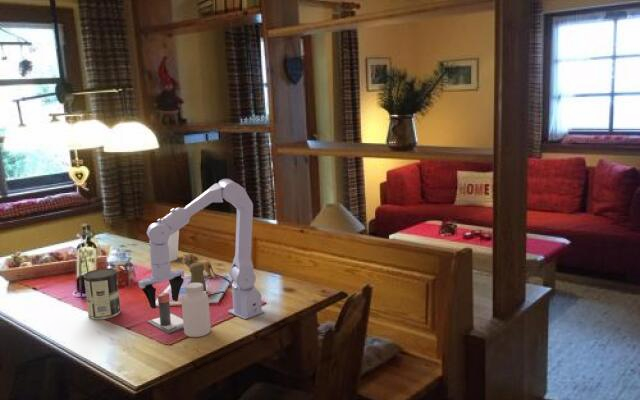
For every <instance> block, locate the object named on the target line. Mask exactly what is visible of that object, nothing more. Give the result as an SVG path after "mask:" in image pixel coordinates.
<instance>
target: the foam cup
mask: <svg viewBox="0 0 640 400" xmlns="http://www.w3.org/2000/svg"><path fill="white" fill-rule="evenodd" d="M179 236H180V229H179V230H178V231H176V232H175V233H173V234H172V235H170V236H169V239H168V246H169V254H170V262H173V261H176V260H178V255H179V254H178V253H179V252H178V251H179V239H180V238H179Z"/></svg>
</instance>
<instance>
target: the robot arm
mask: <svg viewBox="0 0 640 400" xmlns="http://www.w3.org/2000/svg"><path fill="white" fill-rule="evenodd" d="M223 199H224V200H225V201H226V202H228V203H230V204H231V205H232V206H234V208H235V209H236V222H235V223H236V225H235V226H236V227H235V251H234V253H235V254H234V258H233V259H232V266H231V267H230V269H229V276H230V278H231V279H232V281H233V282H232V284H231V291H232V293H231V295H232V296H231V297H232V308H230V309H228V310H227V312H228V313H230V314H232V315H235V316H237V317H239V318H241V319H244V320H247V319H249V318H252V317H255V316H257V315H259V314H263V313H265V310H263V307H262V304H263V303H262V294H261V292H260V291H259V290H258V289H257V288H256V287H255V283H256V274H255V273H254V264H253V260H252V243H253V242H252V239H253V217H254V216H253V215H254V204H253V201H252V199H250V197H249V195H248V193H247V191H246V188H244V187H243V186H241V185H240V184H239V183H238V182H235V181H234V180H232V179H230V178H222V179H220V180H219V181H218V183H217V182H216V183H214V184H213V185H211V186H210V187H209V188H208V189H207V190H204V192H202V193H201V194H200V195H199V196H197V197H196V198H195V199H193V200H192V201H190V203H188V204H187V205H185V207H176V208H174V207H173V208H171V209H170V210H169V213H167V214H166V215H165V216H164V217H162V218H158V219H157V220H156V221H157V222H153V223H151V224H149V226H148V228H147V230H146V232H145V233H146V235H147V237H148V239H149V244H148V245H149V249H148V250H149V257H150V258H149V260H150V270H151V276H148V277H147V278H146V277H145V278H143V279H141V280H139V281H138V287H139V288H140V290H142V292H143V293H144V295H145V296H146V298H147V300H148V304H149V306H150V308H151V309H154V310H155V309H157V303H156V292H157V288H155V287H154V286H153V285H157V284H160V283H163V282H167V281H168V282H169V285H170V289H171V298H172V301H173V302H178V301H179V296H180V292H181V288H182V286H183V284H184V282H185V281H184V278H183V277H185V270H183V269H177V270H176V269H175V270H172V267H171V265H172V264H171V261H170V254H169V246H168V239H169V236H170V235H172V234H173V233H175V232H176V231H178V230H179V231H180V230H181V229H182V228H184V227H185V226H186V225H188V224H189V223H190V219H191V217H192V216H194V215H195V214H196V213H198V212H200V211H201V210H203V209H204V208H206V207H208V206H209V205H211V204H212V203H224V200H223Z"/></svg>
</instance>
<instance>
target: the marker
mask: <svg viewBox="0 0 640 400" xmlns="http://www.w3.org/2000/svg"><path fill="white" fill-rule="evenodd" d="M157 302H158V312H159V313H158V314H159V317H160V325H161V326H167V325H170V324H171V318H170V313H171V308H170V307H171V306H170V293H167V292H161V293H158V294H157Z"/></svg>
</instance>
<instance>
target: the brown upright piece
mask: <svg viewBox="0 0 640 400" xmlns="http://www.w3.org/2000/svg"><path fill="white" fill-rule="evenodd" d="M188 269H189V272H190V283H202V284H203V292H204V291H206V289H207V286H206V281H205V276H204V272H205V270H204V265H203V264H202V263H193V264H191V265H190V267H189V268H188Z"/></svg>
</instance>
